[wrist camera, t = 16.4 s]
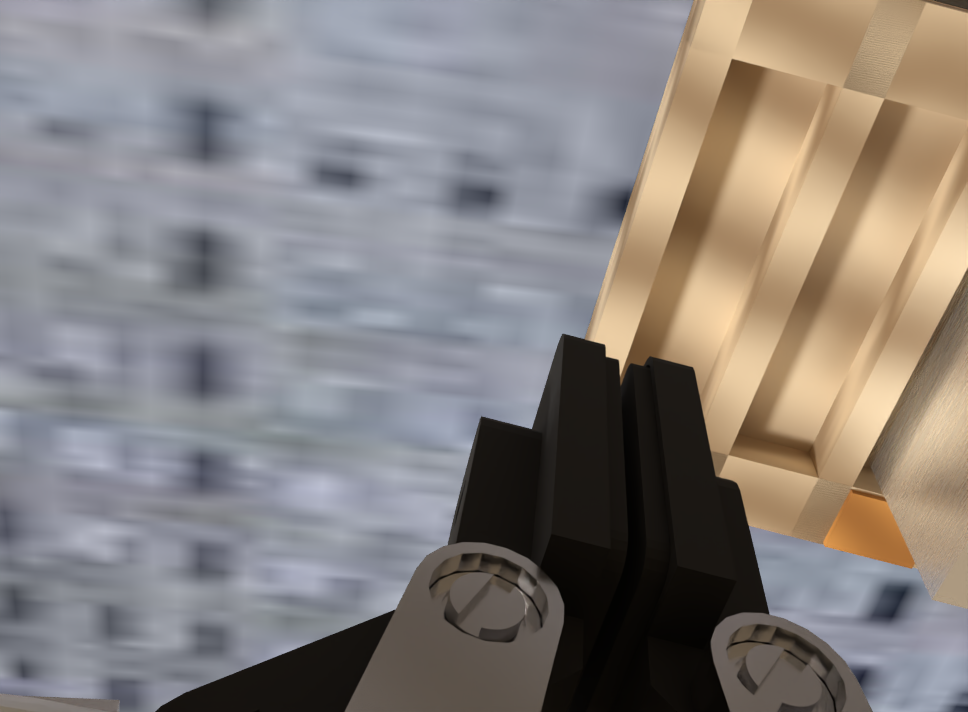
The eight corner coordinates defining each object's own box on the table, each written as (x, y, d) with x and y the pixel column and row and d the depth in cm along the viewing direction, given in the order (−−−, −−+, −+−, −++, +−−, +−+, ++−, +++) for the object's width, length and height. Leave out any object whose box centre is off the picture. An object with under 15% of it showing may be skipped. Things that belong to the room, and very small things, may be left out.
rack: (712, -59, 33) (723, -51, 30) (1192, 69, 34) (1248, 87, 31) (552, 438, 44) (549, 479, 41) (920, 532, 44) (942, 578, 41)
